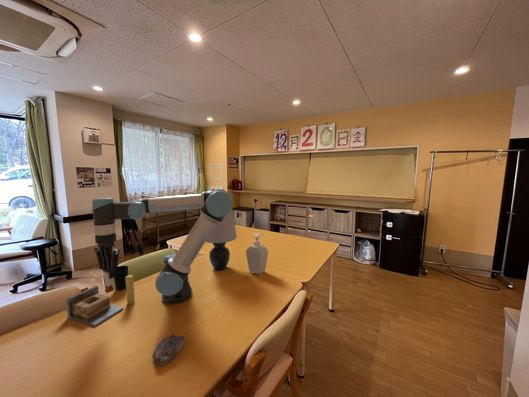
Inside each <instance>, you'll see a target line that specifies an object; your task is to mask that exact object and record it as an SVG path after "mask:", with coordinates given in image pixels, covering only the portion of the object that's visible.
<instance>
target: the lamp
mask: <svg viewBox="0 0 529 397" xmlns="http://www.w3.org/2000/svg"><path fill="white" fill-rule="evenodd" d="M234 218H235V217H234V212H233V211H232V210H231V211H230V212H229V213H228V214H227V215H226V216H225V218H224V219H223V221H222V222H221V223H218V224H216V226H215V227H214V229H213V231H212V232H211V234H210V235H209V237H208V239H207V240H206V242H205V243H209V244H210V243H211V244H212V245H213V247H212V248H211V249H210V251H209V254H208V255H209V256H208V257H209V261H210V264H211V266H212V268H213V270H214V271H216V272H217V271H218V272H220V271H224V269H225V270H226V269H227V266H228V265H229V262H230V257H231V252H230V250H229V248H228V247H226V244H227V243H228V242H232V241H235V240H236V239H237V238H238V236H237V228H236V224H235V219H234Z"/></svg>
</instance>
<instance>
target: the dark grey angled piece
mask: <svg viewBox="0 0 529 397" xmlns="http://www.w3.org/2000/svg"><path fill="white" fill-rule="evenodd" d="M99 292H100V290H99V286H98V285H94V286H92V287H90V288H88V289H86V290H83V291H81V292H79V293H76V294H75V295H72V296H70V297H68V298H66V299H65V303H66V304H65V305H66V312H67V313H66V314H67V318H68V319H70V320H73V321H76V322H79V323H82V324H85V325H88V326H91V327H94V328H96V327H97V326H98V325H101V324H102V323H104V322H105V321H107V320H109V319H111V318H112V317H113V316H115V315H116V314H118V313H119V312H120V313H121V311H123V310H124V307H122V306H119V305H115V304H111V303H110V307H108V308H106V309H105V310H103V311H101V312H99V313H98V314H96V315H94V316H92V317H91V318H89V319H87V318H84V317H81V316H78V315H75V314H73V303H75V302H77V301H80V300H82V299H84V298H86V297H88V296H90V295H92V294H94V293H98V294H100V293H99Z"/></svg>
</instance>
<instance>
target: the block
mask: <svg viewBox="0 0 529 397" xmlns="http://www.w3.org/2000/svg"><path fill="white" fill-rule="evenodd" d="M110 297H111V296H109V295H104V294H100V293H99V294H98V293H94V294H92V295H90V296H88V297H86V298H84V299H82V300H80V301H77V302H75V303H73V314H75V315H78V316H81V317H84V318H87V319H89V318H91V317H92V316H94V315H96V314H98V313H99V312H101V311H103V310H105V309H106V308H108V307H110V304H111V298H110Z"/></svg>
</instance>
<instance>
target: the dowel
mask: <svg viewBox="0 0 529 397" xmlns="http://www.w3.org/2000/svg"><path fill="white" fill-rule="evenodd" d="M134 286H135V284H134V275H132V274H130V275H129V274H128V276H126V289H125V290H126V291H125V292H126V303H127V305H133V304H135V302H136V301H135V288H134Z"/></svg>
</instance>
